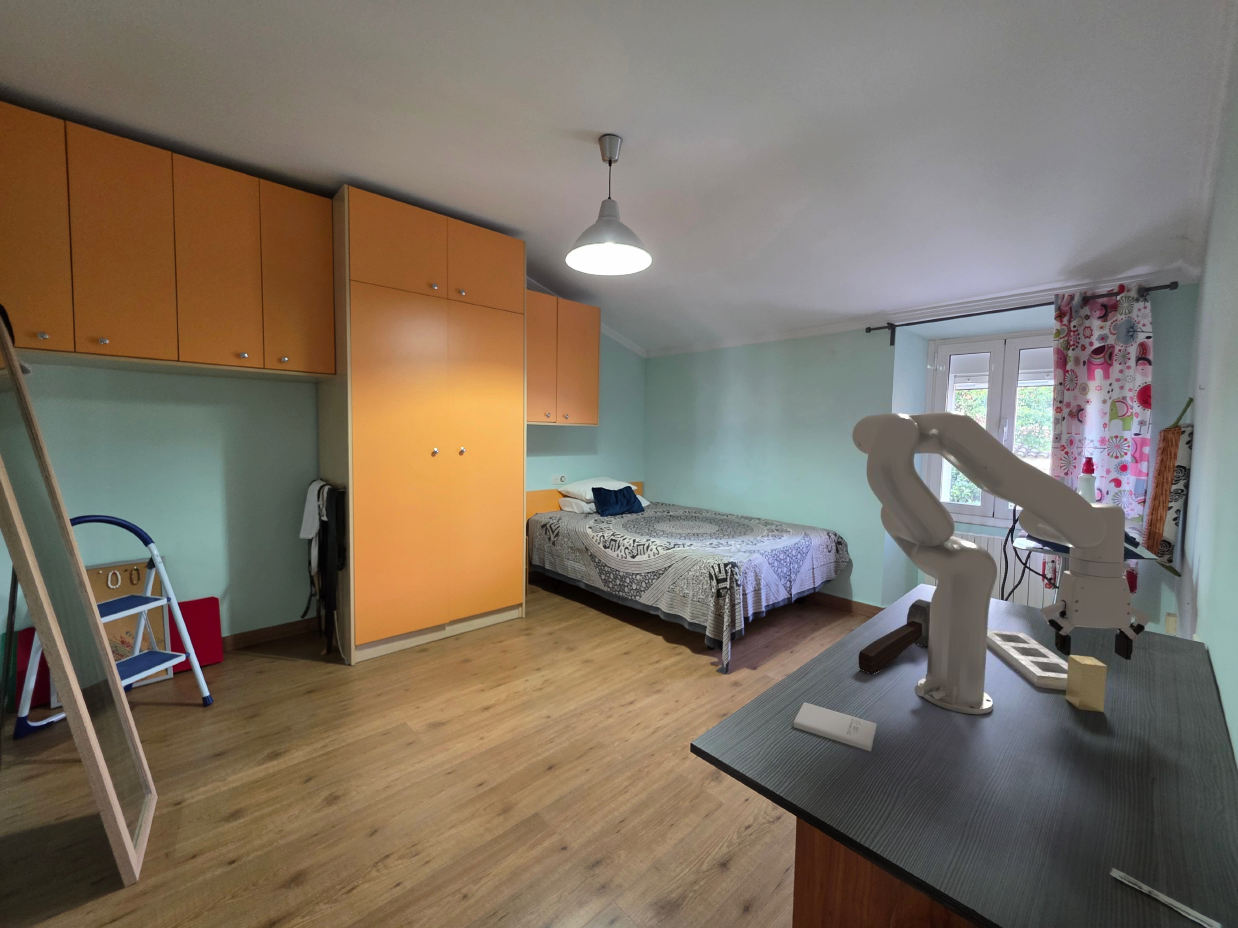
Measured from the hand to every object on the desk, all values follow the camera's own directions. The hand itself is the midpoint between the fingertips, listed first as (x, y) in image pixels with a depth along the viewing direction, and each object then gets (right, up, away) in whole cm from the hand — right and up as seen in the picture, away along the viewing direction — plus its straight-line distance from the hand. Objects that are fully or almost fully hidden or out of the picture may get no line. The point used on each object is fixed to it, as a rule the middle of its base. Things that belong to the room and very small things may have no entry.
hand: (1092, 654), depth 98 cm
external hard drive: (-53, -11, -8) cm, 55 cm away
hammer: (-26, -9, +21) cm, 35 cm away
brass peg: (-1, -10, +1) cm, 10 cm away
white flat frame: (+3, -9, +19) cm, 21 cm away
